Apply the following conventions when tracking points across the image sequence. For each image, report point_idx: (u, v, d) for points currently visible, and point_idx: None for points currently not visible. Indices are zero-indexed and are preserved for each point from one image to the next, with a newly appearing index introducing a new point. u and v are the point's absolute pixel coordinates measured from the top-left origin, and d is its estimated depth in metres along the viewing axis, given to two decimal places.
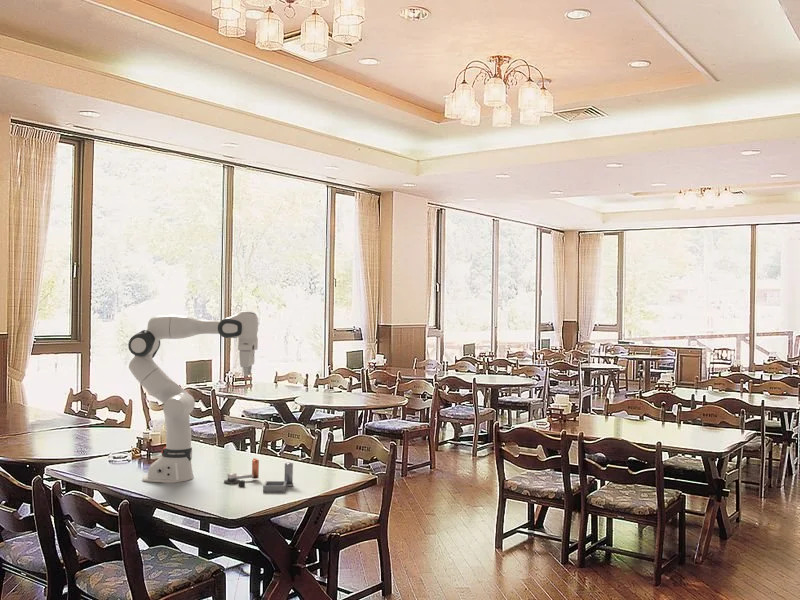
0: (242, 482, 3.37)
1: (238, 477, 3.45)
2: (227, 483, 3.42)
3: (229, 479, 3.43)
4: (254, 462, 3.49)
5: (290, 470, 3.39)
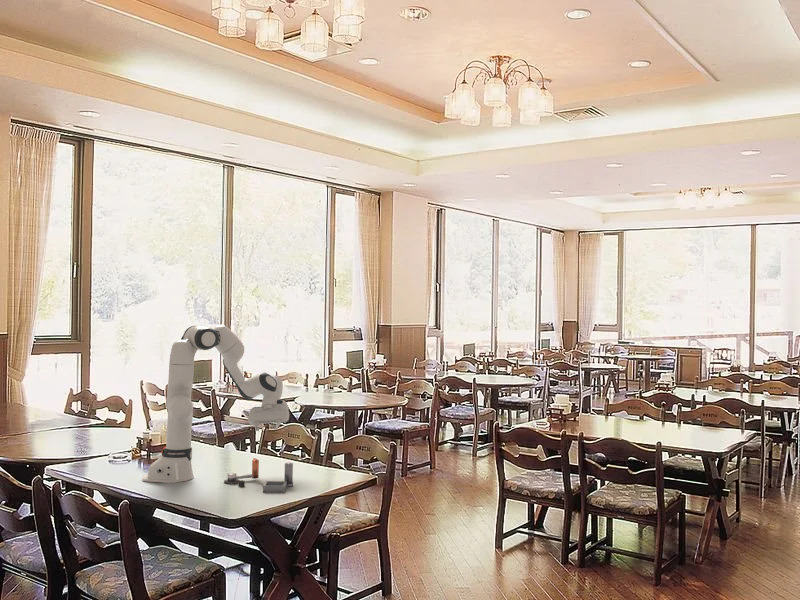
0: (242, 482, 3.37)
1: (238, 477, 3.45)
2: (227, 483, 3.42)
3: (229, 479, 3.43)
4: (254, 462, 3.49)
5: (290, 470, 3.39)
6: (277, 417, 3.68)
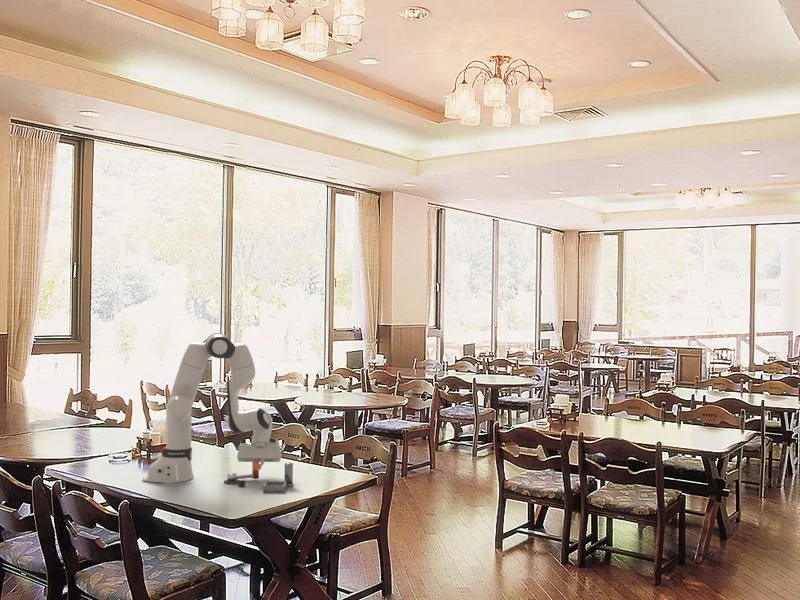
0: (242, 482, 3.37)
1: (238, 477, 3.45)
2: (227, 483, 3.42)
3: (229, 479, 3.43)
4: (254, 462, 3.49)
5: (290, 470, 3.39)
6: (270, 456, 3.55)
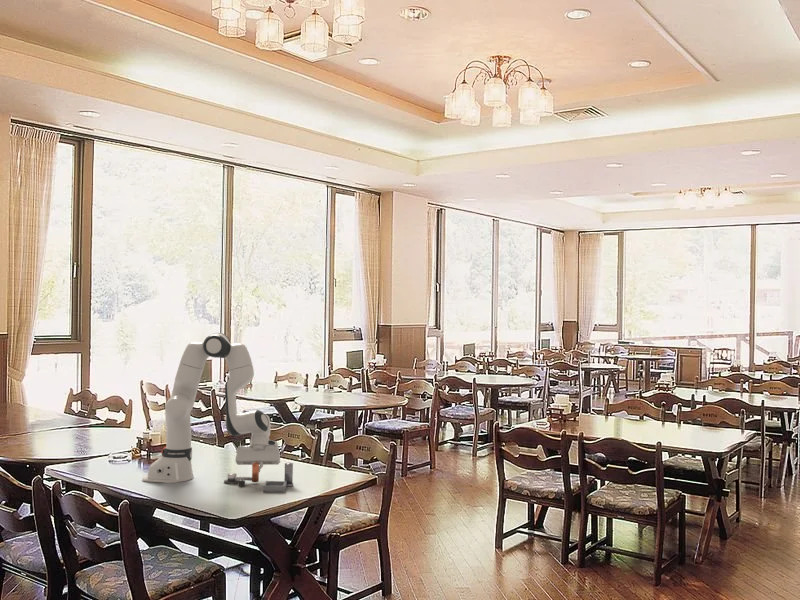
0: (242, 482, 3.37)
1: (237, 478, 3.44)
2: (227, 483, 3.42)
3: (227, 479, 3.44)
4: (252, 465, 3.42)
5: (290, 470, 3.39)
6: (269, 459, 3.48)
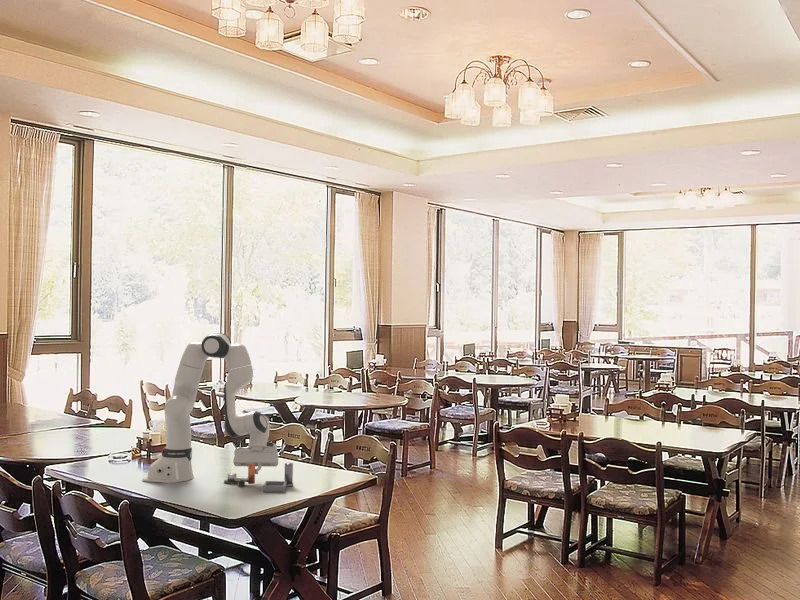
0: (242, 482, 3.37)
1: (235, 478, 3.43)
2: (227, 483, 3.42)
3: None
4: (248, 466, 3.39)
5: (290, 470, 3.39)
6: (267, 461, 3.45)
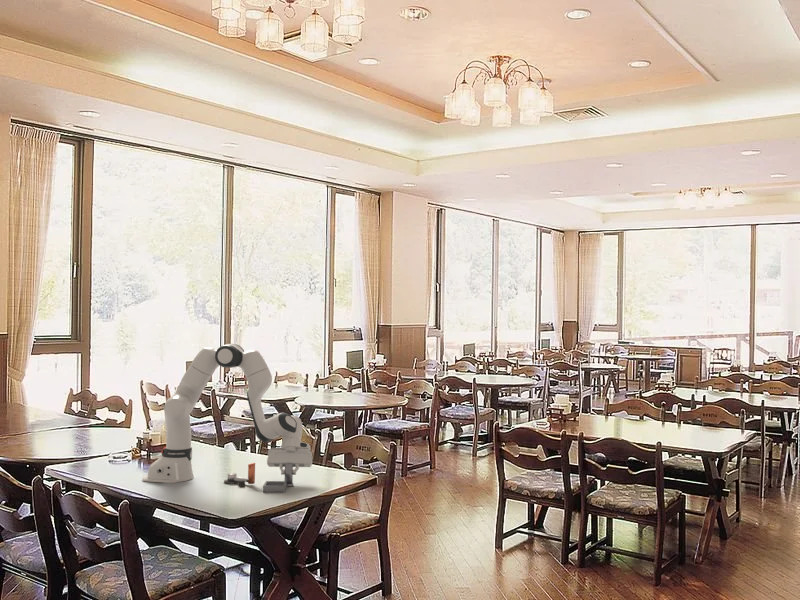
0: (242, 482, 3.37)
1: (235, 478, 3.43)
2: (227, 483, 3.42)
3: None
4: (248, 466, 3.39)
5: (290, 470, 3.39)
6: (301, 461, 3.43)
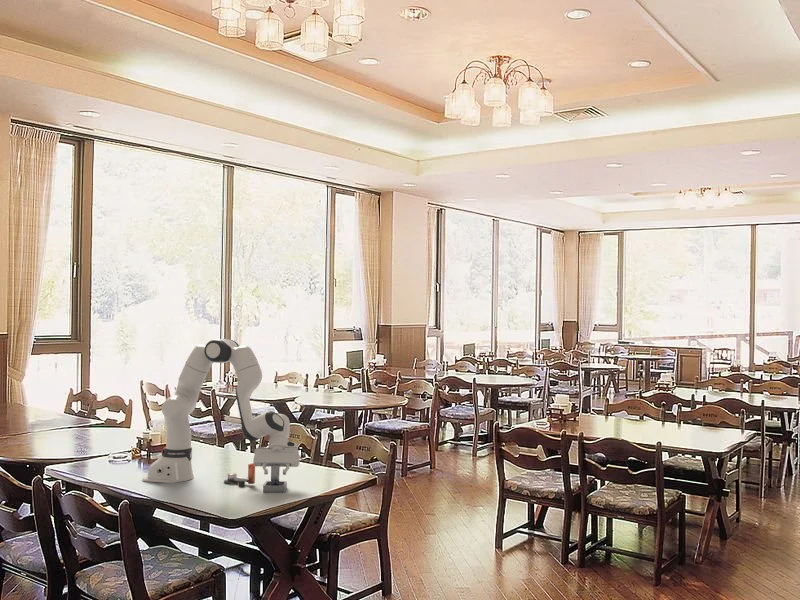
0: (242, 482, 3.37)
1: (235, 478, 3.43)
2: (227, 483, 3.42)
3: None
4: (248, 466, 3.39)
5: (277, 472, 3.31)
6: (288, 461, 3.35)
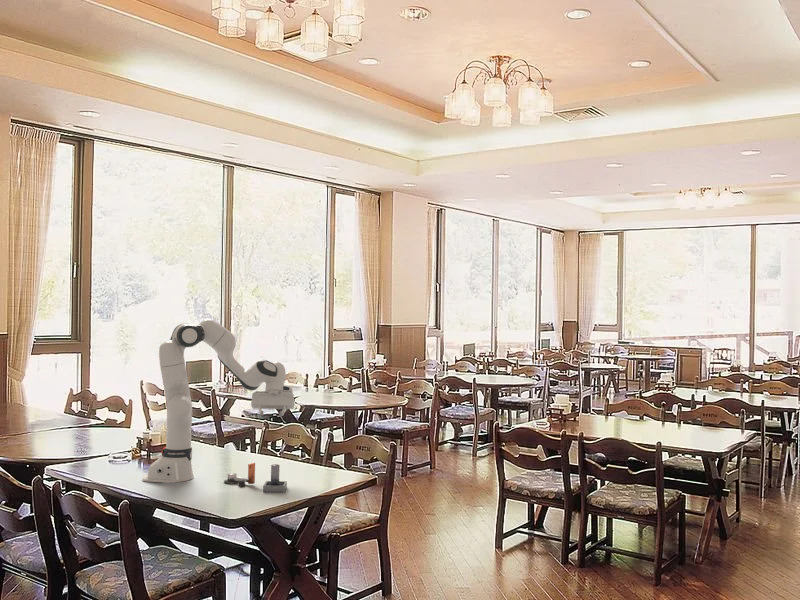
0: (242, 482, 3.37)
1: (235, 478, 3.43)
2: (227, 483, 3.42)
3: None
4: (248, 466, 3.39)
5: (276, 472, 3.31)
6: (284, 403, 3.59)
